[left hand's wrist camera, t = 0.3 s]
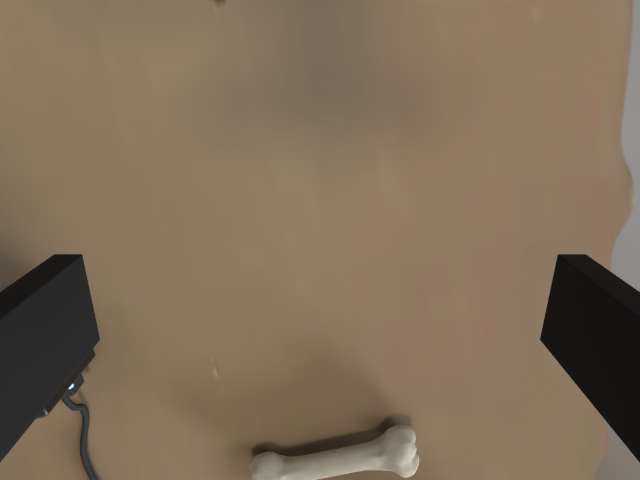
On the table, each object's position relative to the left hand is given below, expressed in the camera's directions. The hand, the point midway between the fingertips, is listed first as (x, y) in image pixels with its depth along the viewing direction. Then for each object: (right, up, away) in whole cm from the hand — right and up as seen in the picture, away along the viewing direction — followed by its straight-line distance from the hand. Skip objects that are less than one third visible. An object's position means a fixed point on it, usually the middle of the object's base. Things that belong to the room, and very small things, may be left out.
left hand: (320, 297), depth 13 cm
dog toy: (+2, -24, +42) cm, 49 cm away
